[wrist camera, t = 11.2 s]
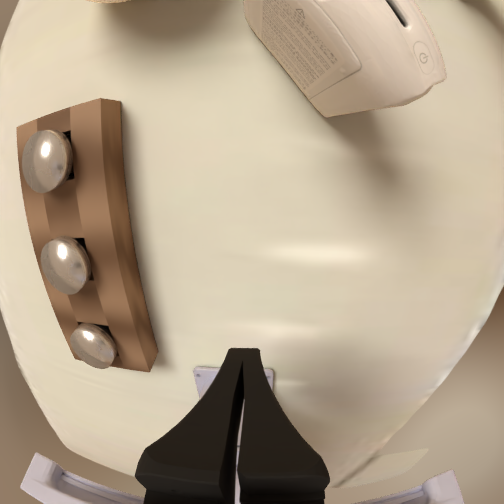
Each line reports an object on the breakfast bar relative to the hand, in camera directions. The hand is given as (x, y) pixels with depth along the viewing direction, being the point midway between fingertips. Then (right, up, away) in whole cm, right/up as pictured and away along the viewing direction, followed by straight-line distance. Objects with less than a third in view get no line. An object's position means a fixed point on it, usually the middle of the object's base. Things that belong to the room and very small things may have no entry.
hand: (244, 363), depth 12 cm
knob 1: (-14, +13, +6) cm, 20 cm away
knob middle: (-14, +6, +9) cm, 17 cm away
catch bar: (-14, +6, +9) cm, 18 cm away
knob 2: (-14, -2, +12) cm, 18 cm away
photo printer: (+4, +19, +3) cm, 20 cm away
